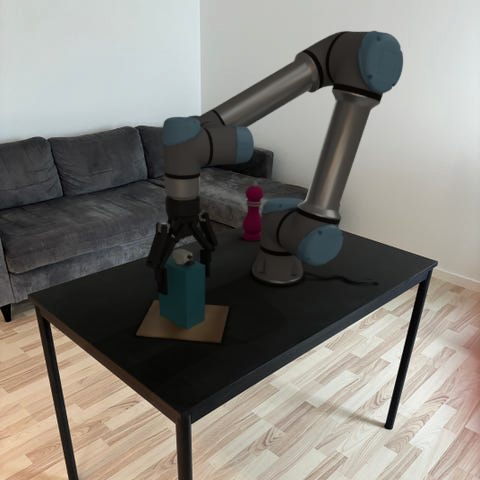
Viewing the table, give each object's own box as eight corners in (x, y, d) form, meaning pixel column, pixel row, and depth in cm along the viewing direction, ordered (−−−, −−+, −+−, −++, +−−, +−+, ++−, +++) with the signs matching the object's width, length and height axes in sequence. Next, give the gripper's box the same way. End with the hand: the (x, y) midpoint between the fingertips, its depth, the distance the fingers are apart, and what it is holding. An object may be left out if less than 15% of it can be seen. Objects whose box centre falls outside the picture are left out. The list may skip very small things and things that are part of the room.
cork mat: (229, 308, 125) (229, 306, 125) (220, 343, 111) (220, 341, 111) (154, 301, 127) (154, 300, 126) (136, 335, 112) (135, 333, 112)
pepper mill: (260, 242, 167) (264, 185, 157) (240, 240, 168) (242, 183, 158) (263, 235, 173) (267, 179, 163) (243, 233, 174) (246, 177, 164)
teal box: (177, 306, 124) (204, 320, 118) (159, 314, 120) (187, 329, 114) (175, 242, 115) (205, 253, 109) (156, 248, 111) (185, 261, 105)
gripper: (211, 182, 113) (210, 264, 124) (124, 202, 97) (132, 295, 107) (234, 188, 109) (231, 273, 120) (148, 211, 93) (153, 307, 103)
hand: (184, 284), depth 114 cm, fingers open, 13 cm apart
